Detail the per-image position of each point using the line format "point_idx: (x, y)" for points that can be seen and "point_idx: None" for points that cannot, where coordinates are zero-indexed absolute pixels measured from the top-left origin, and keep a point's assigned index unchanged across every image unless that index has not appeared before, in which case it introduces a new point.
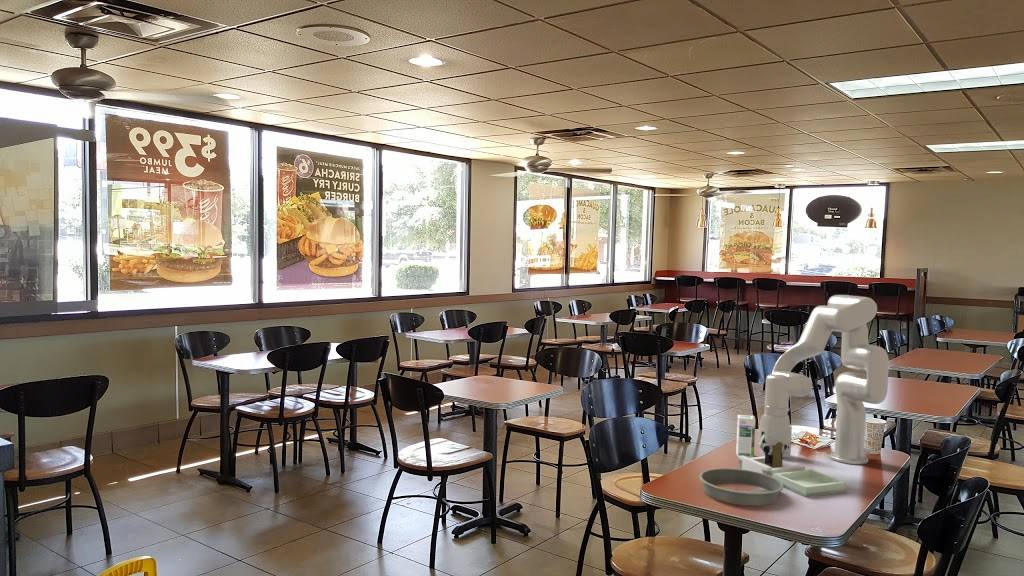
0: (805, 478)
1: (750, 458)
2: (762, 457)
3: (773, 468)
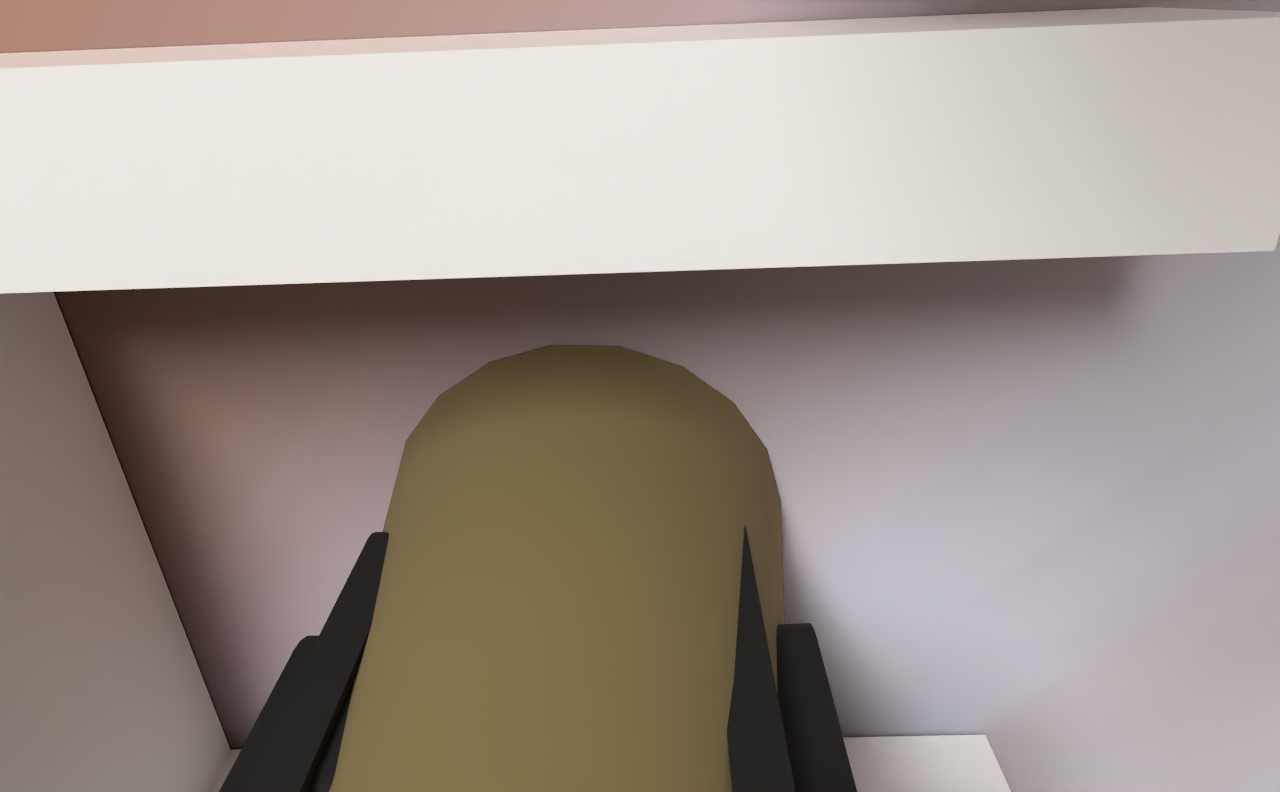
0: None
1: (11, 180)
2: (562, 181)
3: None
